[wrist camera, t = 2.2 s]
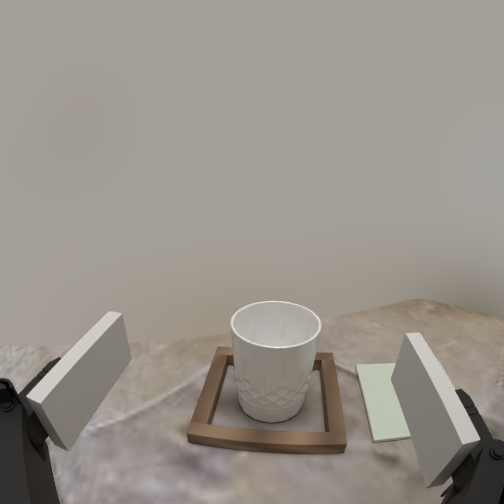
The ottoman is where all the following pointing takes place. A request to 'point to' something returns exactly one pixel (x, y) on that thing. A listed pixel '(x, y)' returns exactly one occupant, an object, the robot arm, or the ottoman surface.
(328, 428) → the walnut collar
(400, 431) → the sage tile
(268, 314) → the white cup
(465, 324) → the ottoman surface
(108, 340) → the robot arm
